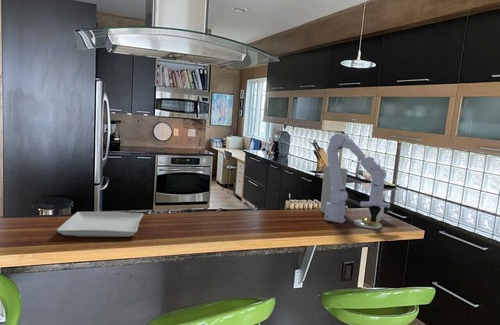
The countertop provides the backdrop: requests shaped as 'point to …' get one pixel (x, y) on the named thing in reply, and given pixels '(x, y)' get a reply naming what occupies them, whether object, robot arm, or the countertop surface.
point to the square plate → (101, 224)
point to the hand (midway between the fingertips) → (373, 221)
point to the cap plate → (366, 225)
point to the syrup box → (380, 214)
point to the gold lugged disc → (368, 221)
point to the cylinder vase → (329, 186)
